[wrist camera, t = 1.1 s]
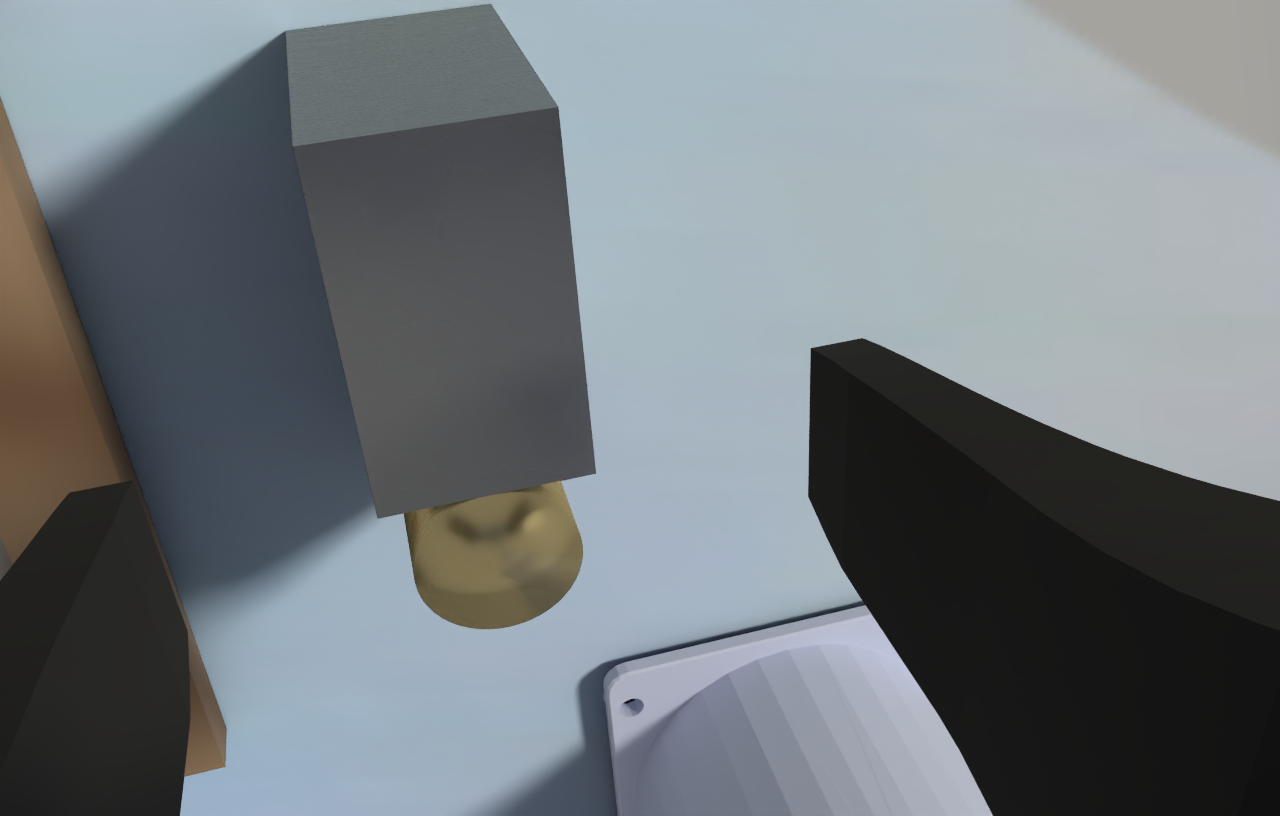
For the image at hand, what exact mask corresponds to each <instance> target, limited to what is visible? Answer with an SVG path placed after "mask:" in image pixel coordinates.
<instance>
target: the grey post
mask: <svg viewBox="0 0 1280 816" xmlns="http://www.w3.org/2000/svg"><path fill="white" fill-rule="evenodd" d="M286 47H287V64H288V80H289V97H290V114H291V130H292V147H293V151H294V155H295V160H296V164H297V169H298V173H299V177H300V182H301V186H302V190H303V195H304V199H305V203H306V208H307V212H308V216H309V221H310V225H311V230H312V234H313V238H314V243H315V247H316V251H317V256H318V260H319V264H320V269H321V273H322V278H323V282H324V286H325V291H326V295H327V299H328V304H329V308H330V312H331V317H332V321H333V325H334V330H335V334H336V339H337V343H338V347H339V352H340V356H341V360H342V365H343V369H344V373H345V378H346V382H347V387H348V391H349V395H350V400H351V404H352V408H353V413H354V417H355V421H356V426H357V430H358V434H359V439H360V443H361V448H362V452H363V456H364V461H365V465H366V469H367V474H368V478H369V482H370V487H371V491H372V496H373V500H374V504H375V509H376V513H377V517H378V518H383V517H388V516H392V515H397V514H402V513H404V518H405V524H406V530H407V536H408V543H409V549H410V555H411V561H412V567H413V573H414V579H415V584H416V587H417V590H418V592H419V594H420V596H421V598H422V599H423V601H424V602H425V604H426V605H427V606H428V607H429V608H430V609H431V610H432V611H433V612H434V613H436V614H437V615H439V616H440V617H441V618H443V619H445V620H447V621H449V622H452V623H454V624H457V625H460V626H464V627H468V628H475V629H498V628H504V627H510V626H514V625H517V624H521V623H523V622H526V621H529V620H531V619H533V618H535V617H537V616H539V615H541V614H542V613H544V612H546V611H547V610H549V609H550V608H551V607H553V606H554V605H555V604H556V603H557V602H559V601H560V600H561V599H562V598H563V597H564V596H565V594H566V593H567V592H568V591H569V589H570V588H571V586H572V585H573V583H574V582H575V580H576V578H577V575H578V573H579V571H580V567H581V564H582V557H583V545H582V540H581V536H580V533H579V531H578V528H577V525H576V522H575V519H574V517H573V514H572V511H571V508H570V506H569V503H568V500H567V497H566V495H565V492H564V489H563V486H562V483H561V481H562V480H567V479H572V478H577V477H581V476H586V475H591V474H596V469H595V459H594V450H593V440H592V430H591V420H590V411H589V401H588V391H587V382H586V372H585V362H584V352H583V343H582V333H581V323H580V314H579V304H578V294H577V284H576V275H575V265H574V255H573V245H572V236H571V226H570V216H569V207H568V197H567V187H566V177H565V168H564V158H563V148H562V138H561V129H560V119H559V109H558V106H557V104H556V103H555V101H554V100H553V98H552V97H551V95H550V94H549V92H548V91H547V89H546V87H545V86H544V84H543V83H542V81H541V80H540V78H539V77H538V75H537V74H536V72H535V71H534V69H533V68H532V66H531V65H530V63H529V61H528V60H527V58H526V57H525V55H524V54H523V52H522V51H521V49H520V48H519V46H518V45H517V43H516V42H515V40H514V39H513V37H512V35H511V34H510V32H509V31H508V29H507V28H506V26H505V25H504V23H503V22H502V20H501V19H500V17H499V16H498V14H497V13H496V11H495V9H494V8H493V6H492V5H491V4H487V5H479V6H471V7H464V8H456V9H449V10H441V11H433V12H426V13H418V14H411V15H403V16H395V17H388V18H380V19H373V20H365V21H357V22H350V23H342V24H335V25H327V26H319V27H312V28H304V29H297V30H289V31H286Z"/></svg>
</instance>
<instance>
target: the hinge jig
mask: <svg viewBox="0 0 1280 816" xmlns="http://www.w3.org/2000/svg"><path fill="white" fill-rule="evenodd" d="M131 480H133V481H134V484H135V487H136V490H137V492H138V495H139V498H140V501H141V503H142V506H143V509H144V512H145V514H146V517H147V520H148V523H149V525H150V528H151V531H152V534H153V537H154V539H155V542H156V545H157V548H158V550H159V553H160V556H161V559H162V561H163V564H164V567H165V570H166V572H167V575H168V578H169V581H170V583H171V586H172V589H173V592H174V594H175V597H176V600H177V603H178V606H179V608H180V611H181V614H182V617H183V619H184V622H185V625H186V628H187V630H188V645H189V671H190V728H189V738H188V747H187V756H186V765H185V774H184V777H185V776H189V775H193V774H197V773H201V772H206V771H210V770H214V769H218V768H222V767H225V761H226V730H227V728H226V725H225V723H224V720H223V717H222V714H221V712H220V709H219V706H218V703H217V700H216V698H215V695H214V692H213V689H212V686H211V684H210V681H209V678H208V675H207V672H206V670H205V667H204V664H203V661H202V658H201V656H200V653H199V650H198V647H197V645H196V642H195V639H194V636H193V633H192V631H191V628H190V625H189V622H188V619H187V617H186V614H185V611H184V608H183V605H182V603H181V600H180V597H179V594H178V592H177V589H176V586H175V583H174V580H173V578H172V575H171V572H170V569H169V566H168V564H167V561H166V558H165V555H164V552H163V550H162V547H161V544H160V541H159V539H158V536H157V533H156V530H155V527H154V525H153V522H152V519H151V516H150V513H149V511H148V508H147V505H146V502H145V499H144V497H143V494H142V491H141V488H140V486H139V483H138V480H137V477H136V474H135V472H134V469H133V466H132V463H131V460H130V458H129V455H128V452H127V449H126V446H125V444H124V441H123V438H122V435H121V432H120V430H119V427H118V424H117V421H116V419H115V416H114V413H113V410H112V407H111V405H110V402H109V399H108V396H107V393H106V391H105V388H104V385H103V382H102V379H101V377H100V374H99V371H98V368H97V366H96V363H95V360H94V357H93V354H92V352H91V349H90V346H89V343H88V340H87V338H86V335H85V332H84V329H83V326H82V324H81V321H80V318H79V315H78V313H77V310H76V307H75V304H74V301H73V299H72V296H71V293H70V290H69V287H68V285H67V282H66V279H65V276H64V273H63V271H62V268H61V265H60V262H59V259H58V257H57V254H56V251H55V248H54V246H53V243H52V240H51V237H50V234H49V232H48V229H47V226H46V223H45V220H44V218H43V215H42V212H41V209H40V206H39V204H38V201H37V198H36V195H35V193H34V190H33V187H32V184H31V181H30V179H29V176H28V173H27V170H26V167H25V165H24V162H23V159H22V156H21V153H20V151H19V148H18V145H17V142H16V140H15V137H14V134H13V131H12V128H11V126H10V123H9V120H8V117H7V114H6V112H5V109H4V106H3V103H2V100H1V98H0V580H1V579H2V578H3V576H4V575H5V574H6V573H7V571H8V570H9V569H10V568H11V566H12V565H13V564H14V562H15V561H16V560H17V559H18V557H19V556H20V555H21V553H22V552H23V551H24V549H25V548H26V547H27V546H28V544H29V543H30V542H31V540H32V539H33V538H34V536H35V535H36V534H37V533H38V531H39V530H40V529H41V527H42V526H43V525H44V523H45V522H46V521H47V520H48V518H49V517H50V516H51V514H52V513H53V512H54V511H55V509H56V508H57V507H58V505H59V504H60V503H61V502H62V501H63V499H64V498H65V497H66V496H67V495H68V493H70V492H75V491H80V490H85V489H90V488H95V487H100V486H106V485H111V484H116V483H121V482H126V481H131Z"/></svg>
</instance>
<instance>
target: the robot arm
mask: <svg viewBox="0 0 1280 816" xmlns="http://www.w3.org/2000/svg"><path fill="white" fill-rule="evenodd" d="M808 497H809V499H810V501H811V503H812V506H813V508H814V510H815V512H816V515H817V517H818V519H819V521H820V523H821V526H822V528H823V530H824V532H825V535H826V537H827V539H828V541H829V543H830V545H831V547H832V549H833V551H834V553H835V555H836V557H837V559H838V561H839V563H840V566H841V568H842V569H843V571H844V572H845V574H846V576H847V577H848V579H849V580H850V582H851V583H852V585H853V587H854V588H855V590H856V591H857V593H858V594H859V596H860V597H861V599H862V600H863V602H864V604H865V605H864V606H860V607H856V608H852V609H847V610H843V611H839V612H835V613H831V614H826V615H822V616H818V617H814V618H809V619H805V620H801V621H797V622H793V623H788V624H784V625H780V626H776V627H772V628H767V629H763V630H759V631H755V632H750V633H746V634H742V635H738V636H734V637H729V638H725V639H721V640H717V641H712V642H708V643H704V644H700V645H696V646H691V647H687V648H683V649H679V650H674V651H670V652H666V653H662V654H658V655H653V656H649V657H645V658H641V659H636V660H632V661H628V662H624V663H621V664H619V665H616V666H615V667H613V668H612V669H611V670H610V671H608V673H607V675H606V676H605V678H604V683H603V688H604V697H605V706H606V715H607V724H608V733H609V742H610V751H611V759H612V768H613V777H614V786H615V795H616V804H617V813H618V816H1280V501H1277V500H1273V499H1269V498H1265V497H1261V496H1257V495H1253V494H1249V493H1245V492H1241V491H1237V490H1233V489H1229V488H1225V487H1221V486H1217V485H1214V484H1210V483H1207V482H1203V481H1200V480H1196V479H1193V478H1189V477H1186V476H1183V475H1180V474H1177V473H1174V472H1171V471H1168V470H1165V469H1162V468H1159V467H1156V466H1153V465H1150V464H1146V463H1143V462H1140V461H1137V460H1134V459H1131V458H1128V457H1125V456H1123V455H1120V454H1117V453H1115V452H1112V451H1109V450H1106V449H1104V448H1101V447H1099V446H1096V445H1093V444H1091V443H1089V442H1086V441H1084V440H1081V439H1079V438H1076V437H1074V436H1072V435H1069V434H1067V433H1064V432H1062V431H1060V430H1057V429H1055V428H1052V427H1050V426H1048V425H1045V424H1043V423H1041V422H1038V421H1036V420H1034V419H1032V418H1030V417H1027V416H1025V415H1023V414H1021V413H1018V412H1016V411H1014V410H1012V409H1010V408H1008V407H1006V406H1003V405H1001V404H999V403H997V402H995V401H993V400H991V399H989V398H987V397H985V396H982V395H980V394H978V393H976V392H974V391H972V390H970V389H968V388H966V387H964V386H962V385H960V384H958V383H956V382H954V381H952V380H950V379H948V378H946V377H944V376H942V375H940V374H938V373H936V372H934V371H932V370H930V369H928V368H926V367H924V366H922V365H920V364H918V363H916V362H914V361H912V360H910V359H908V358H906V357H904V356H902V355H899V354H897V353H895V352H893V351H891V350H889V349H887V348H885V347H882V346H880V345H878V344H875V343H873V342H870V341H868V340H866V339H863V338H861V339H856V340H851V341H846V342H841V343H836V344H830V345H825V346H820V347H815V348H811V370H810V428H809V486H808ZM630 699H635V700H634V701H632V702H630V703H626V704H623V703H624V702H625V701H627V700H630ZM189 728H190V671H189V645H188V630H187V628H186V625H185V622H184V619H183V617H182V614H181V611H180V608H179V606H178V603H177V600H176V597H175V594H174V592H173V589H172V586H171V583H170V581H169V578H168V575H167V572H166V570H165V567H164V564H163V561H162V559H161V556H160V553H159V550H158V548H157V545H156V542H155V539H154V537H153V534H152V531H151V528H150V525H149V523H148V520H147V517H146V514H145V512H144V509H143V506H142V503H141V501H140V498H139V495H138V492H137V490H136V487H135V484H134V481H133V480H131V481H126V482H121V483H116V484H111V485H106V486H100V487H95V488H90V489H85V490H80V491H75V492H70V493H68V495H67V496H66V497H65V498H64V499H63V501H62V502H61V503H60V504H59V505H58V507H57V508H56V509H55V511H54V512H53V513H52V514H51V516H50V517H49V518H48V520H47V521H46V522H45V523H44V525H43V526H42V527H41V529H40V530H39V531H38V533H37V534H36V535H35V536H34V538H33V539H32V540H31V542H30V543H29V544H28V546H27V547H26V548H25V549H24V551H23V552H22V553H21V555H20V556H19V557H18V559H17V560H16V561H15V562H14V564H13V565H12V566H11V568H10V569H9V570H8V571H7V573H6V574H5V575H4V576H3V578H2V579H1V580H0V816H180V809H181V800H182V792H183V783H184V774H185V765H186V756H187V747H188V738H189Z"/></svg>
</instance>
